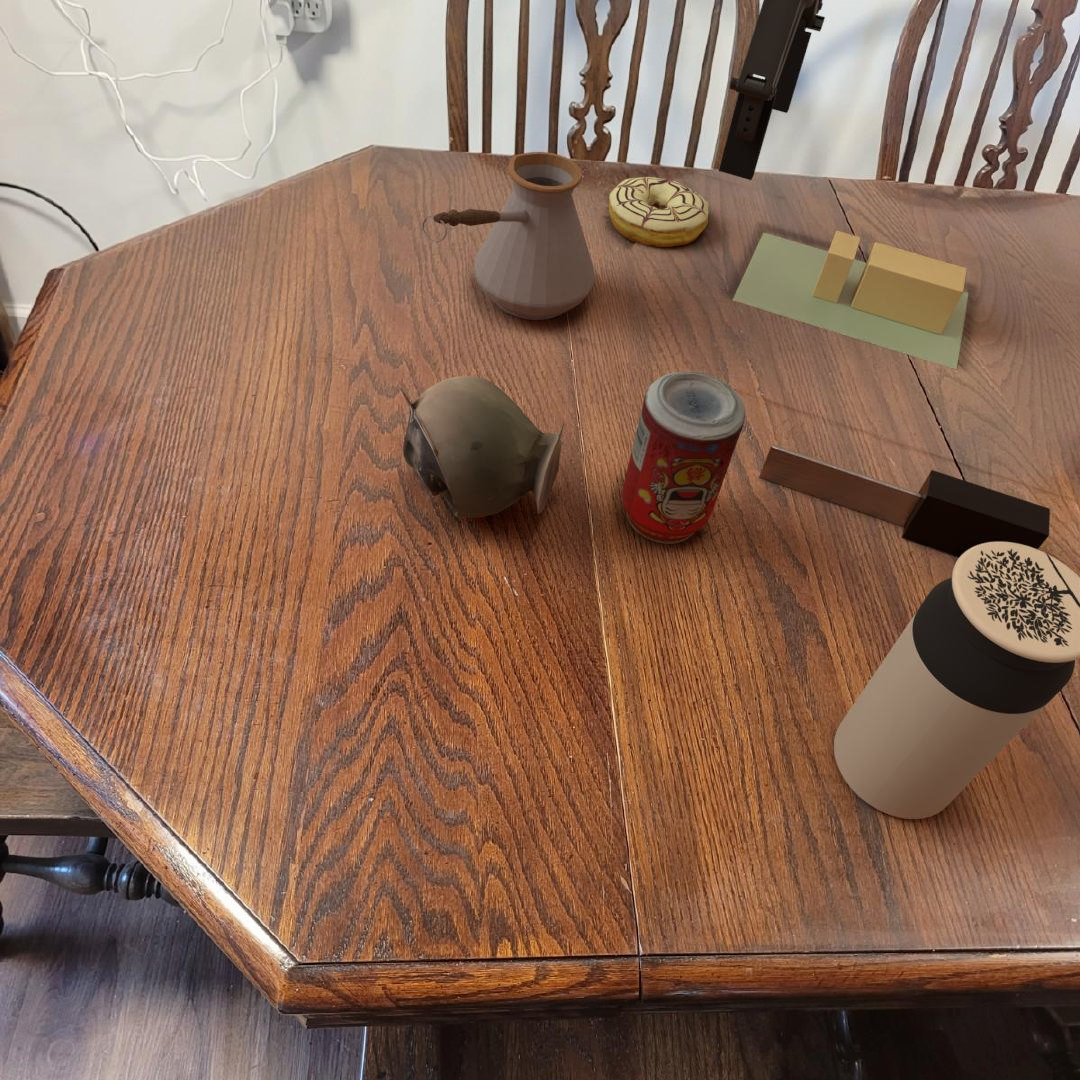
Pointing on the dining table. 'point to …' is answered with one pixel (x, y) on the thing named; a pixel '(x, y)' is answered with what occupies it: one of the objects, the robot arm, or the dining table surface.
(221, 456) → the dining table surface
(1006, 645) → the travel mug
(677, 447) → the soda can
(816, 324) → the butter board
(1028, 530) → the knife
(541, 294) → the coffee pot
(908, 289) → the butter block
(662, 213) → the decorated donut
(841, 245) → the butter slice
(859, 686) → the dining table surface
